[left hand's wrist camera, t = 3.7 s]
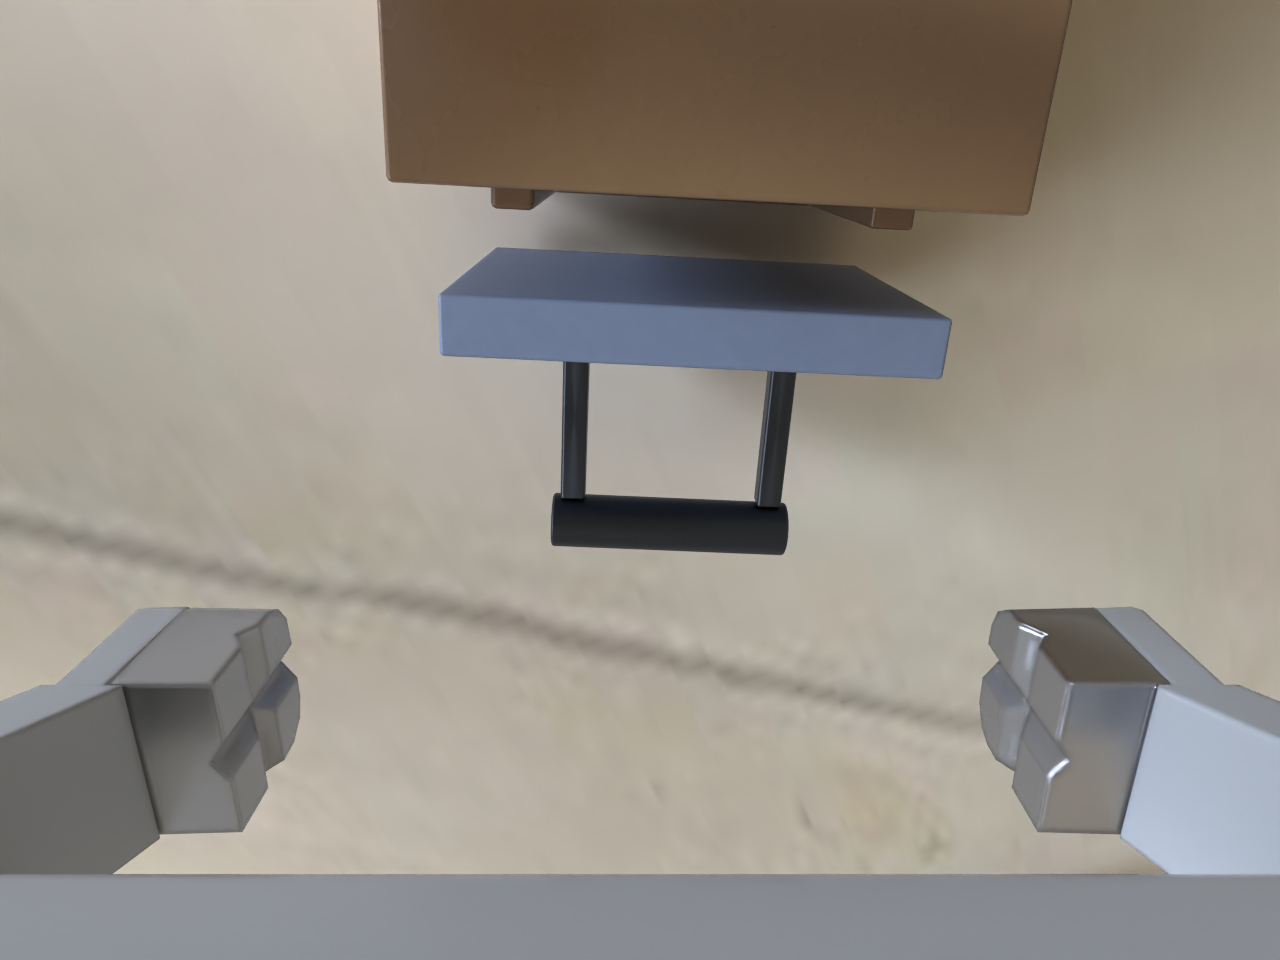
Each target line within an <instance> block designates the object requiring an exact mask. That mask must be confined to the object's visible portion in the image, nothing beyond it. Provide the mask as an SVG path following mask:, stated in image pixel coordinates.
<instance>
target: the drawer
mask: <svg viewBox="0 0 1280 960" xmlns="http://www.w3.org/2000/svg"><path fill="white" fill-rule="evenodd" d="M555 192H566V193H584V194H603V195H622V196H641V197H659V198H678V199H697V200H716V201H734V202H753V203H772V204H790V205H809V206H813V207H815V208H818V209H821V210H824V211H826V212H829V213H832V214H835V215H838V216H840V217H843V218H846V219H849V220H851V221H854V222H857V223H860V224H862V225H865V226H868V227H871V228H877V229H896V230H910V229H911V228H912V224H913V218H914V212H915V210H904V209H885V208H867V207H848V206H829V205H810V204H792V203H773V202H754V201H735V200H717V199H698V198H679V197H661V196H642V195H623V194H604V193H586V192H567V191H548V190H529V189H511V188H492V187H491V204H492V206H493V207H495V208H500V209H519V210H531V209H533V208H534V207H536V206H537V205H539V204H540V203H541V202H543V201H544V200H545V199H547V198H548V197H550V196H551V195H552V194H554V193H555ZM438 301H439V332H440V353H441V355H444V356H460V357H481V358H502V359H523V360H544V361H563V408H562V458H561V493H555V494H554V496H553V503H552V515H551V543H552V545H553V546H571V547H596V548H620V549H645V550H669V551H693V552H718V553H742V554H767V555H782V554H784V552H785V549H786V546H787V540H788V512H787V508H786V505H785V504H784V503H781V497H782V489H783V480H784V472H785V463H786V455H787V447H788V438H789V430H790V422H791V413H792V405H793V396H794V388H795V380H796V372H797V373H818V374H839V375H860V376H881V377H902V378H923V379H940V378H941V377H942V374H943V369H944V363H945V358H946V352H947V347H948V341H949V336H950V330H951V325H952V321H951V319H949V318H947V317H946V316H944V315H942V314H940V313H938V312H937V311H935V310H933V309H931V308H929V307H928V306H926V305H924V304H922V303H920V302H919V301H917V300H915V299H913V298H911V297H910V296H908V295H906V294H904V293H902V292H901V291H899V290H897V289H895V288H894V287H892V286H890V285H888V284H886V283H885V282H883V281H881V280H879V279H877V278H876V277H874V276H872V275H870V274H868V273H867V272H865V271H863V270H861V269H859V268H858V267H856V266H850V265H831V264H811V263H792V262H772V261H753V260H733V259H714V258H694V257H675V256H655V255H636V254H616V253H597V252H577V251H558V250H538V249H519V248H499V247H498V248H495V249H494V250H493V251H492V252H490V253H489V254H488V255H487V256H486V257H484V258H483V259H482V260H481V261H480V262H478V263H477V264H476V265H475V266H473V267H472V268H471V269H470V270H469V271H467V272H466V273H465V274H464V275H462V276H461V277H460V278H459V279H458V280H456V281H455V282H454V283H453V284H451V285H450V286H449V287H448V288H447V289H445V290H444V291H443V292H442V293H440V294H439V297H438ZM590 363H607V364H628V365H649V366H670V367H691V368H712V369H734V370H755V371H768V374H767V383H766V393H765V402H764V411H763V421H762V430H761V439H760V449H759V458H758V467H757V477H756V486H755V495H754V498H755V501H756V502H753V501H730V500H706V499H683V498H660V497H636V496H613V495H590V494H585V492H586V464H587V432H588V400H589V368H590Z"/></svg>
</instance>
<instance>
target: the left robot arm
mask: <svg viewBox="0 0 1280 960" xmlns="http://www.w3.org/2000/svg"><path fill="white" fill-rule="evenodd" d="M291 644H292V643H291V638H290V633H289V629H288V624H287V619H286V617H285V616H284V615H283V614H282V613H281V612H280V611H279V610H278V609H232V608H189V607H162V608H145V609H138V610H137V611H136V612H135V613H134V614H133V615H132V616H131V617H130V618H128V619H127V620H126V621H125V622H124V623H123V624H122V625H121V626H120V627H119V628H118V629H116V630H115V631H114V632H113V633H112V634H111V635H110V636H109V637H108V638H107V639H106V640H104V641H103V642H102V643H101V644H100V645H99V646H98V647H97V648H96V649H95V650H94V651H92V652H91V653H90V654H89V655H88V656H87V657H86V658H85V659H84V660H83V661H82V662H80V663H79V664H78V665H77V666H76V667H75V668H74V669H73V670H72V671H71V672H70V673H68V674H67V675H66V676H65V677H64V678H63V679H62V680H61V681H60V682H59V683H57V684H56V685H40V686H38V687H35V688H33V689H30V690H28V691H25V692H23V693H20V694H18V695H16V696H13V697H11V698H8V699H6V700H3V701H1V702H0V960H1280V702H1279V701H1277V700H1274V699H1272V698H1269V697H1267V696H1264V695H1262V694H1260V693H1257V692H1255V691H1252V690H1250V689H1247V688H1245V687H1243V686H1240V685H1224V684H1223V683H1221V682H1220V681H1219V680H1218V679H1217V678H1216V677H1215V676H1214V675H1213V674H1212V673H1211V672H1210V671H1208V670H1207V669H1206V668H1205V667H1204V666H1203V665H1202V664H1201V663H1200V662H1199V661H1198V660H1196V659H1195V658H1194V657H1193V656H1192V655H1191V654H1190V653H1189V652H1188V651H1187V650H1186V649H1184V648H1183V647H1182V646H1181V645H1180V644H1179V643H1178V642H1177V641H1176V640H1175V639H1174V638H1173V637H1171V636H1170V635H1169V634H1168V633H1167V632H1166V631H1165V630H1164V629H1163V628H1162V627H1161V626H1159V625H1158V624H1157V623H1156V622H1155V621H1154V620H1153V619H1152V618H1151V617H1150V616H1149V615H1147V614H1146V613H1145V612H1144V611H1143V610H1140V609H1137V608H1134V607H1111V608H1062V609H1021V610H1004V611H998V612H997V615H996V617H995V619H994V621H993V623H992V626H991V632H990V637H989V643H988V644H989V646H990V647H991V649H992V650H993V652H994V653H995V655H996V657H997V658H998V660H999V661H998V662H997V663H996V664H995V665H994V666H993V667H992V668H991V670H990V671H989V672H988V673H987V674H986V675H985V676H984V677H983V679H982V687H981V695H980V702H979V704H980V714H981V725H982V729H983V733H984V736H985V739H986V742H987V745H988V747H989V748H990V750H991V752H992V754H993V756H994V757H995V759H996V760H997V761H999V762H1000V763H1002V764H1003V765H1005V766H1007V767H1008V768H1010V769H1011V770H1013V771H1015V773H1014V778H1013V784H1012V789H1013V790H1014V792H1015V794H1016V796H1017V797H1018V799H1019V801H1020V802H1021V804H1022V806H1023V808H1024V809H1025V811H1026V813H1027V814H1028V816H1029V818H1030V819H1031V821H1032V823H1033V825H1034V826H1035V828H1036V830H1037V831H1038V832H1055V833H1092V834H1121V835H1120V838H1121V839H1122V840H1123V841H1125V842H1126V843H1127V844H1129V845H1130V846H1131V847H1133V848H1134V849H1135V850H1137V851H1138V852H1139V853H1141V854H1142V855H1143V856H1145V857H1146V858H1147V859H1149V860H1150V861H1151V862H1153V863H1154V864H1155V865H1157V866H1158V867H1159V868H1161V869H1162V870H1163V871H1165V872H1166V873H1167V874H113V873H114V872H116V871H117V870H118V869H120V868H121V867H122V866H124V865H125V864H126V863H128V862H129V861H130V860H132V859H133V858H134V857H136V856H137V855H138V854H140V853H141V852H142V851H144V850H145V849H146V848H148V847H149V846H150V845H152V844H153V843H154V842H156V841H157V840H158V839H160V835H159V834H187V833H223V832H243V830H244V828H245V826H246V825H247V823H248V821H249V820H250V818H251V816H252V814H253V813H254V811H255V809H256V808H257V806H258V804H259V802H260V801H261V799H262V797H263V796H264V794H265V792H266V791H267V789H268V784H267V778H266V773H265V771H267V770H269V769H270V768H272V767H273V766H275V765H277V764H278V763H280V762H281V761H283V760H284V759H285V757H286V756H287V754H288V752H289V750H290V748H291V746H292V745H293V743H294V740H295V736H296V731H297V727H298V723H299V719H300V692H299V685H298V679H297V677H296V676H295V675H294V674H293V673H292V672H291V671H290V669H289V668H288V667H287V666H286V665H285V664H284V663H283V662H282V661H281V660H282V658H283V657H284V655H285V653H286V652H287V650H288V649H289V647H290V646H291Z"/></svg>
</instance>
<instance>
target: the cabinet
mask: <svg viewBox="0 0 1280 960" xmlns="http://www.w3.org/2000/svg"><path fill="white" fill-rule="evenodd" d="M377 3H378V23H379V42H380V62H381V81H382V101H383V120H384V140H385V159H386V176H387V178H388V180H389V181H391V182H398V183H417V184H436V185H455V186H473V187H492V188H511V189H529V190H548V191H567V192H586V193H604V194H623V195H642V196H661V197H679V198H698V199H717V200H735V201H754V202H773V203H792V204H810V205H829V206H848V207H867V208H885V209H904V210H923V211H942V212H960V213H979V214H998V215H1016V216H1023V215H1026V214H1028V212H1029V210H1030V205H1031V200H1032V195H1033V190H1034V185H1035V180H1036V175H1037V171H1038V166H1039V161H1040V156H1041V151H1042V146H1043V141H1044V136H1045V132H1046V127H1047V122H1048V117H1049V112H1050V107H1051V102H1052V97H1053V92H1054V88H1055V83H1056V78H1057V73H1058V68H1059V63H1060V58H1061V53H1062V49H1063V44H1064V39H1065V34H1066V29H1067V24H1068V19H1069V14H1070V9H1071V5H1072V0H377Z"/></svg>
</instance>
